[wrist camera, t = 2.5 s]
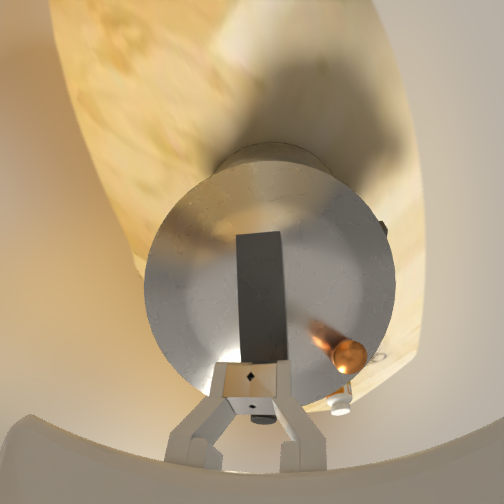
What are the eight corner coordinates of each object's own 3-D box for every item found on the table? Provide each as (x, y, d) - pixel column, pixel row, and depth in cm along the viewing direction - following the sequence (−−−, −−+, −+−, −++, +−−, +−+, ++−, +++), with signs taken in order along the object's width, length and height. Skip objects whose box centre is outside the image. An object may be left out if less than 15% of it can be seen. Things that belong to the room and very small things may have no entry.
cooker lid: (160, 187, 21) (139, 165, 18) (366, 164, 19) (376, 137, 15) (159, 397, 17) (133, 409, 14) (393, 390, 15) (412, 404, 11)
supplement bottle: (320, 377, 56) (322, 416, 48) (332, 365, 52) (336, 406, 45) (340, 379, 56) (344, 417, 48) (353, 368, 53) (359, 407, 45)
